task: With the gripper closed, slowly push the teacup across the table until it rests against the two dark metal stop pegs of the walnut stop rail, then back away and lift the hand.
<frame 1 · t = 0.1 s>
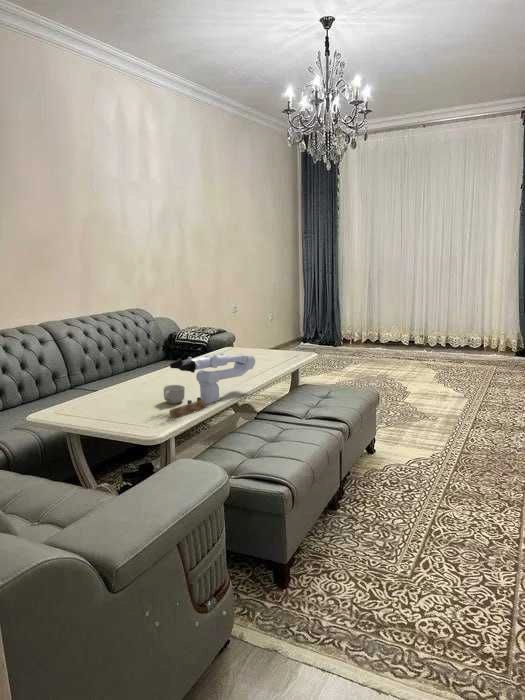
hand: (175, 367, 258), 22 cm above the table, tool horizontal, fingers open, 7 cm apart
stop rail: (188, 413, 258), on the table
teacup: (173, 403, 275), on the table
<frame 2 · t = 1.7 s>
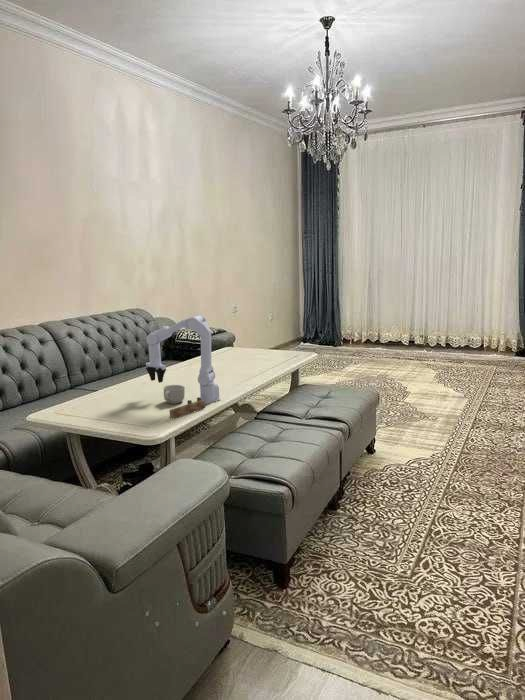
hand: (156, 381, 281), 9 cm above the table, tool pointing down, fingers open, 6 cm apart
nothing on the table moved.
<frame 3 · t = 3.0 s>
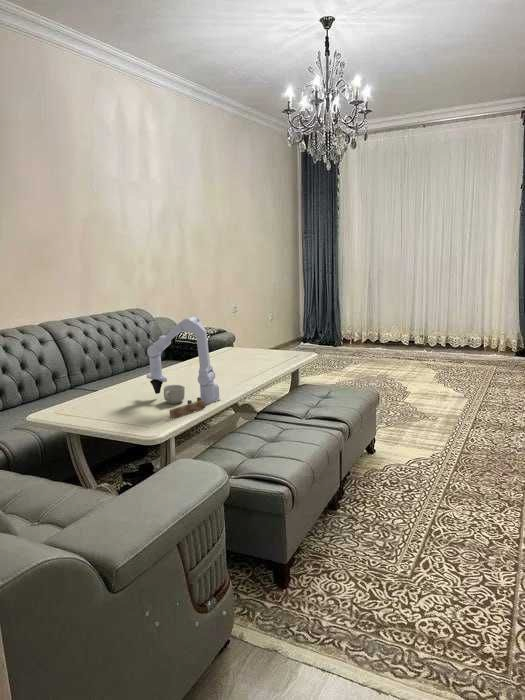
hand: (157, 393, 282), 3 cm above the table, tool pointing down, fingers closed
nothing on the table moved.
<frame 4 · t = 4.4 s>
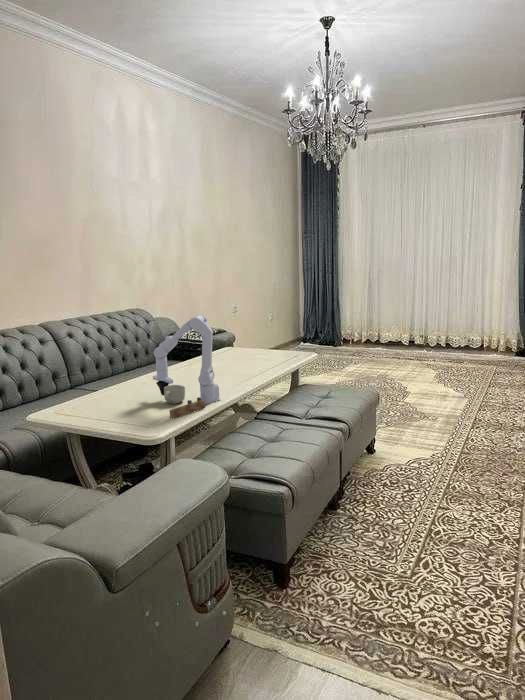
hand: (163, 394, 279), 3 cm above the table, tool pointing down, fingers closed
teacup: (173, 403, 274), on the table, touching gripper
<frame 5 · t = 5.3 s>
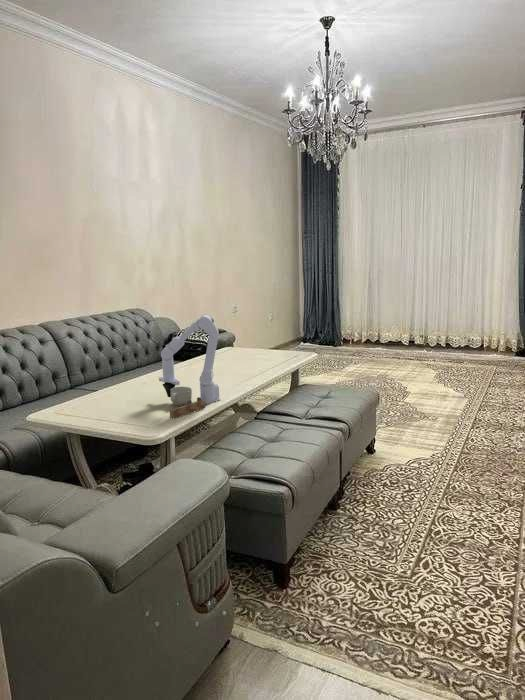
hand: (170, 396, 275), 3 cm above the table, tool pointing down, fingers closed
teacup: (179, 405, 271), on the table, touching gripper
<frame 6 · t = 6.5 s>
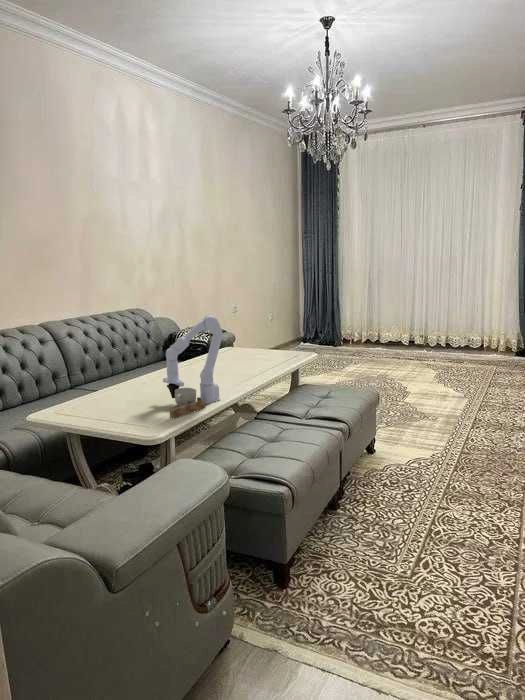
hand: (174, 397, 273), 3 cm above the table, tool pointing down, fingers closed
teacup: (184, 406, 269), on the table, touching gripper
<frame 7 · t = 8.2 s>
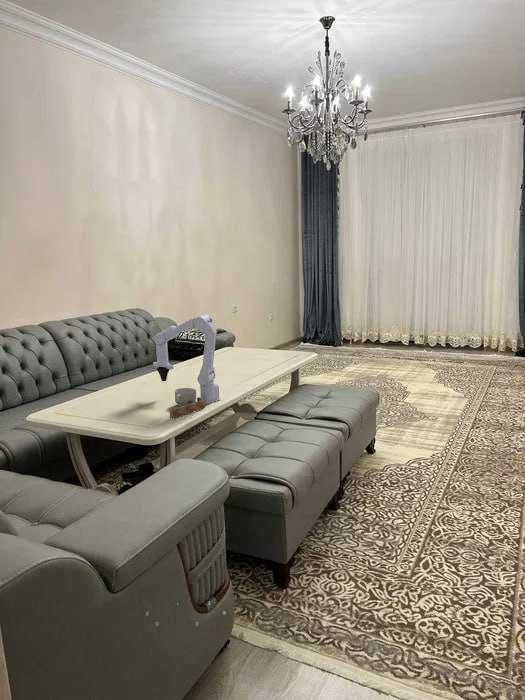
hand: (164, 381, 281), 9 cm above the table, tool pointing down, fingers closed
teacup: (184, 406, 269), on the table
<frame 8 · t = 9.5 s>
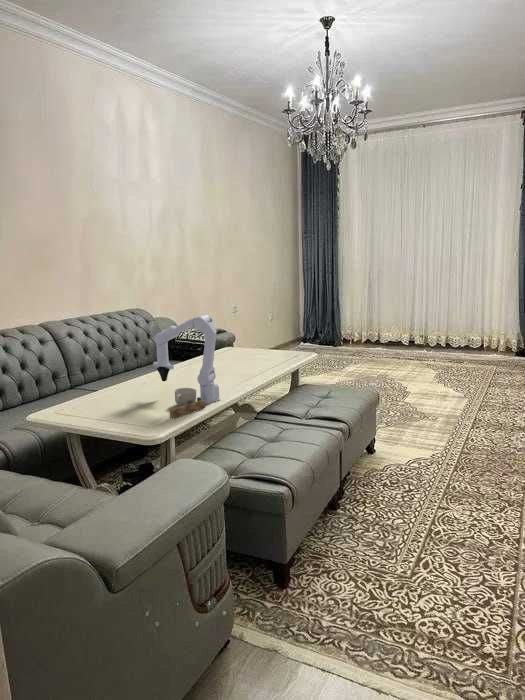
hand: (164, 380, 282), 9 cm above the table, tool pointing down, fingers closed
nothing on the table moved.
at the end: teacup inside the target area (0.4 cm from its centre), on the table; teacup moved 9.1 cm from its start; teacup tilted 0° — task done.
